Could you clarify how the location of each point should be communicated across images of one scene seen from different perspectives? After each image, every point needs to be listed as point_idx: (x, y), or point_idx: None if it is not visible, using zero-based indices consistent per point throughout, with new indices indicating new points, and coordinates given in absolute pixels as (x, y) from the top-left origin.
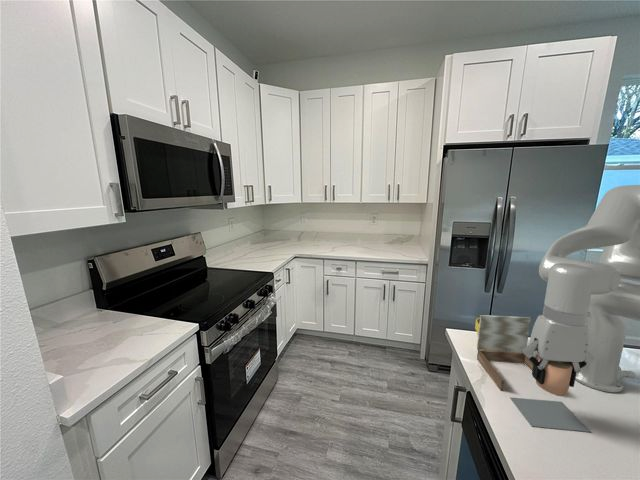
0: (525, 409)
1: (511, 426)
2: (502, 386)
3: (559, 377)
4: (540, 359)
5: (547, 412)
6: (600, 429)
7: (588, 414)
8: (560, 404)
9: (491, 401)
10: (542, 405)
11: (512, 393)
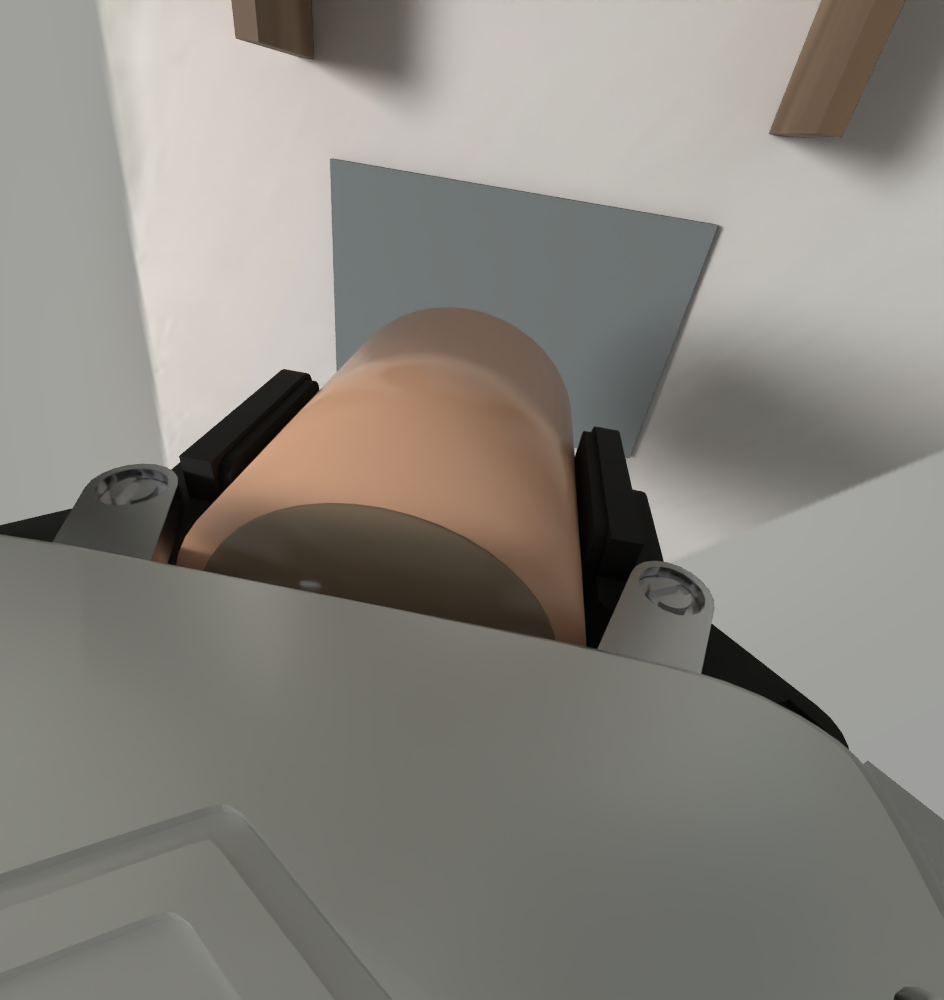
0: (374, 290)
1: (237, 390)
2: (285, 50)
3: None
4: (180, 566)
5: None
6: (706, 444)
7: (781, 346)
8: (675, 253)
9: (184, 193)
10: (523, 259)
11: (384, 95)
